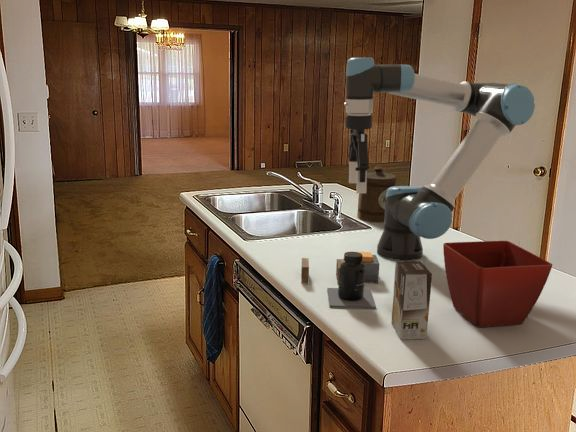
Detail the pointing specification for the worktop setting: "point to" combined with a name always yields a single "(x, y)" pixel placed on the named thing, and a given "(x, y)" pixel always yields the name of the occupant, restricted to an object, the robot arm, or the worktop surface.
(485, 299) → the plant pot
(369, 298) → the mat
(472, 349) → the worktop surface
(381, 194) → the wooden container
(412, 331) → the coffee box
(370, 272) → the plunger housing
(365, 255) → the plunger
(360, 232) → the worktop surface
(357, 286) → the supplement bottle
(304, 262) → the block
